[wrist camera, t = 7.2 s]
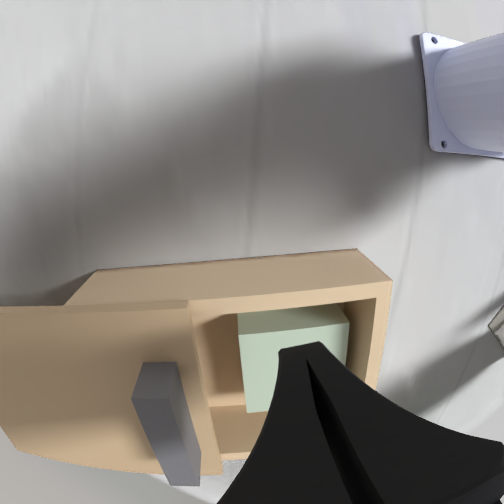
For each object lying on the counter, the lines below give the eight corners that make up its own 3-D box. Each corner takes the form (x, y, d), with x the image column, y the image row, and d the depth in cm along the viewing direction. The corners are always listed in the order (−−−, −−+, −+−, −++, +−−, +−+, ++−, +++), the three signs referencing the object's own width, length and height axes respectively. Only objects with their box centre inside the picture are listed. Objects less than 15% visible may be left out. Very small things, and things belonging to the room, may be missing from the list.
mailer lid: (188, 299, 14) (178, 342, 11) (222, 465, 18) (223, 505, 14) (-52, 305, 13) (-82, 330, 10) (21, 443, 17) (6, 471, 14)
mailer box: (356, 248, 19) (392, 280, 14) (343, 395, 23) (363, 441, 18) (96, 269, 19) (62, 306, 14) (140, 410, 22) (127, 458, 18)
